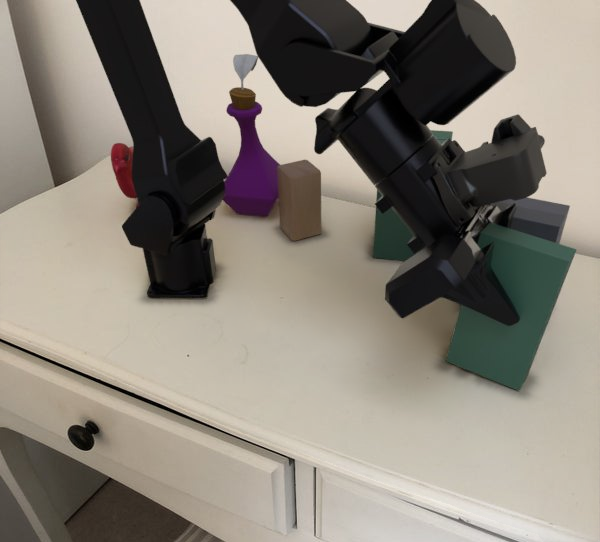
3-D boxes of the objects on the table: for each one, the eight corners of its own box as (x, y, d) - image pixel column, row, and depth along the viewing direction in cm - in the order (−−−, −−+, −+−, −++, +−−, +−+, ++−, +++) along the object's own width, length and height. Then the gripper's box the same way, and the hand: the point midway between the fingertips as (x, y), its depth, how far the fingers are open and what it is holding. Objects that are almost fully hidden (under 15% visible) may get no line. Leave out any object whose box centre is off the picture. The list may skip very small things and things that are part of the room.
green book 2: (445, 361, 59) (480, 232, 50) (454, 349, 60) (490, 222, 52) (518, 391, 56) (569, 260, 48) (526, 378, 58) (576, 249, 49)
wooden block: (307, 220, 80) (306, 157, 75) (322, 234, 78) (322, 170, 72) (278, 228, 79) (275, 164, 73) (292, 242, 76) (290, 177, 71)
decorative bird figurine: (118, 233, 79) (99, 152, 72) (143, 172, 92) (128, 99, 85) (142, 232, 79) (125, 152, 72) (163, 171, 92) (150, 98, 85)
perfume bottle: (276, 224, 80) (267, 67, 67) (219, 218, 81) (200, 64, 69) (291, 197, 85) (286, 47, 72) (238, 192, 86) (223, 44, 74)
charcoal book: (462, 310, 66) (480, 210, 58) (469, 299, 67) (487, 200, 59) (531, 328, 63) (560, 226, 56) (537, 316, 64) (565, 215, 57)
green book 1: (372, 257, 73) (379, 144, 64) (375, 248, 75) (382, 135, 66) (434, 263, 72) (450, 148, 63) (435, 253, 74) (451, 140, 65)
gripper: (444, 141, 38) (590, 338, 41) (522, 53, 50) (630, 212, 53) (325, 235, 46) (456, 393, 49) (416, 141, 58) (516, 274, 61)
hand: (520, 312), depth 53 cm, fingers closed on green book 2, 3 cm apart
